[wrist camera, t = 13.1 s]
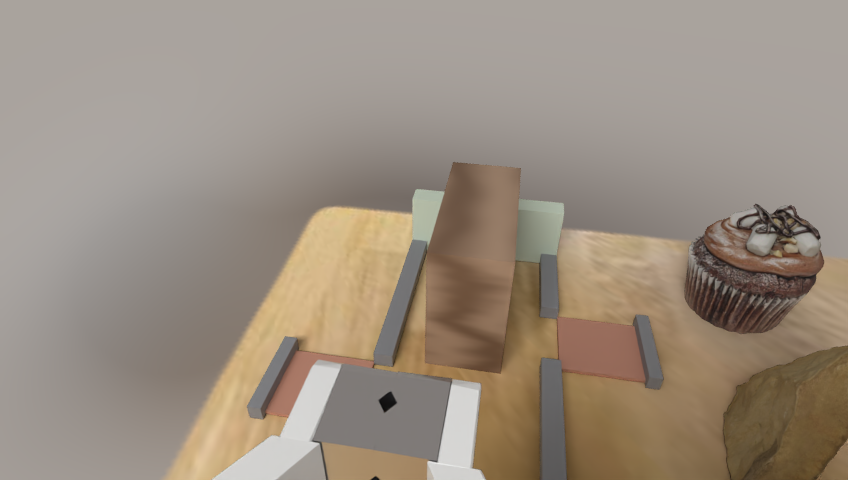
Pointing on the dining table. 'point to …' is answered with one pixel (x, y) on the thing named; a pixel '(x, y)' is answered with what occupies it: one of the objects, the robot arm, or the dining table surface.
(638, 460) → the dining table surface
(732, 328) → the cupcake
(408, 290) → the green panel rail frame
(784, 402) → the rock
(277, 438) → the robot arm
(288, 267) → the dining table surface
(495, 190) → the walnut block
